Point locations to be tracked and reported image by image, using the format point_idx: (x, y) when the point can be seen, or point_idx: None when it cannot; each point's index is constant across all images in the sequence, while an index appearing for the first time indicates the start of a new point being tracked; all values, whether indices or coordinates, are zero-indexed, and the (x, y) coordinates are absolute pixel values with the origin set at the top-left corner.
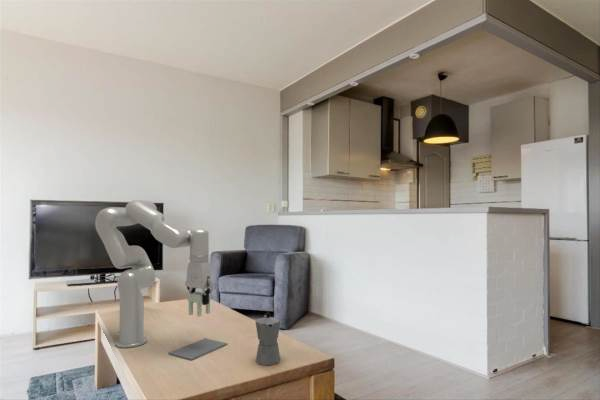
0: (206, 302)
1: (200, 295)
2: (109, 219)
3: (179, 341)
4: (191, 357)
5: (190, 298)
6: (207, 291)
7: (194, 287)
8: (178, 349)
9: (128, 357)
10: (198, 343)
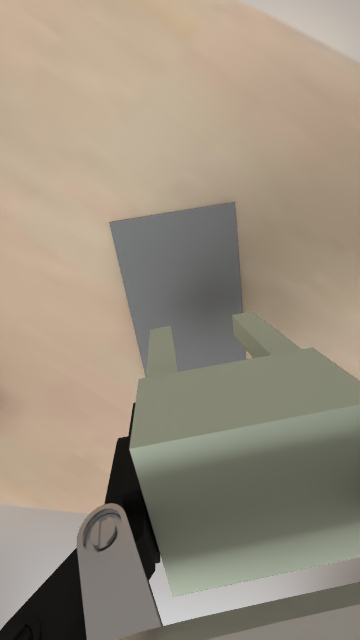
0: (120, 439)
1: (135, 465)
2: None
3: (305, 305)
4: (124, 232)
5: (292, 374)
6: (46, 604)
7: (341, 600)
8: (232, 248)
9: (338, 68)
10: (223, 328)
